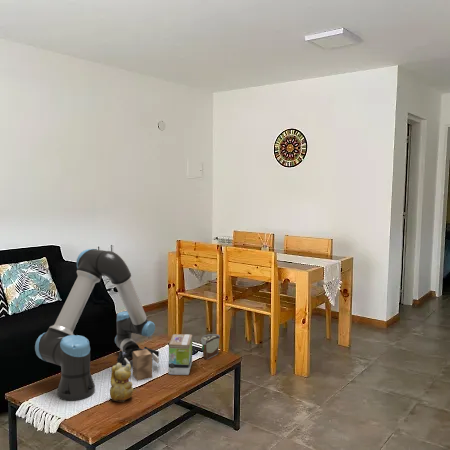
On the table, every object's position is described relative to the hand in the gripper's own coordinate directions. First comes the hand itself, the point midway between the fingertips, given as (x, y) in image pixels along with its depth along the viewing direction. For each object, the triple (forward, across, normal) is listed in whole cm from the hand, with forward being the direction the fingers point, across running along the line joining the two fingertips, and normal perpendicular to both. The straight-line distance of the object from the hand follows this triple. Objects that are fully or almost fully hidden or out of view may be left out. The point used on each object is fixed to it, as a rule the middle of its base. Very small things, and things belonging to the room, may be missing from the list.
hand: (143, 363), depth 214 cm
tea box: (-1, -18, -7) cm, 20 cm away
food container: (-10, -38, -7) cm, 39 cm away
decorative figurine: (+17, +16, -7) cm, 24 cm away
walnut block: (-1, 0, -6) cm, 6 cm away
